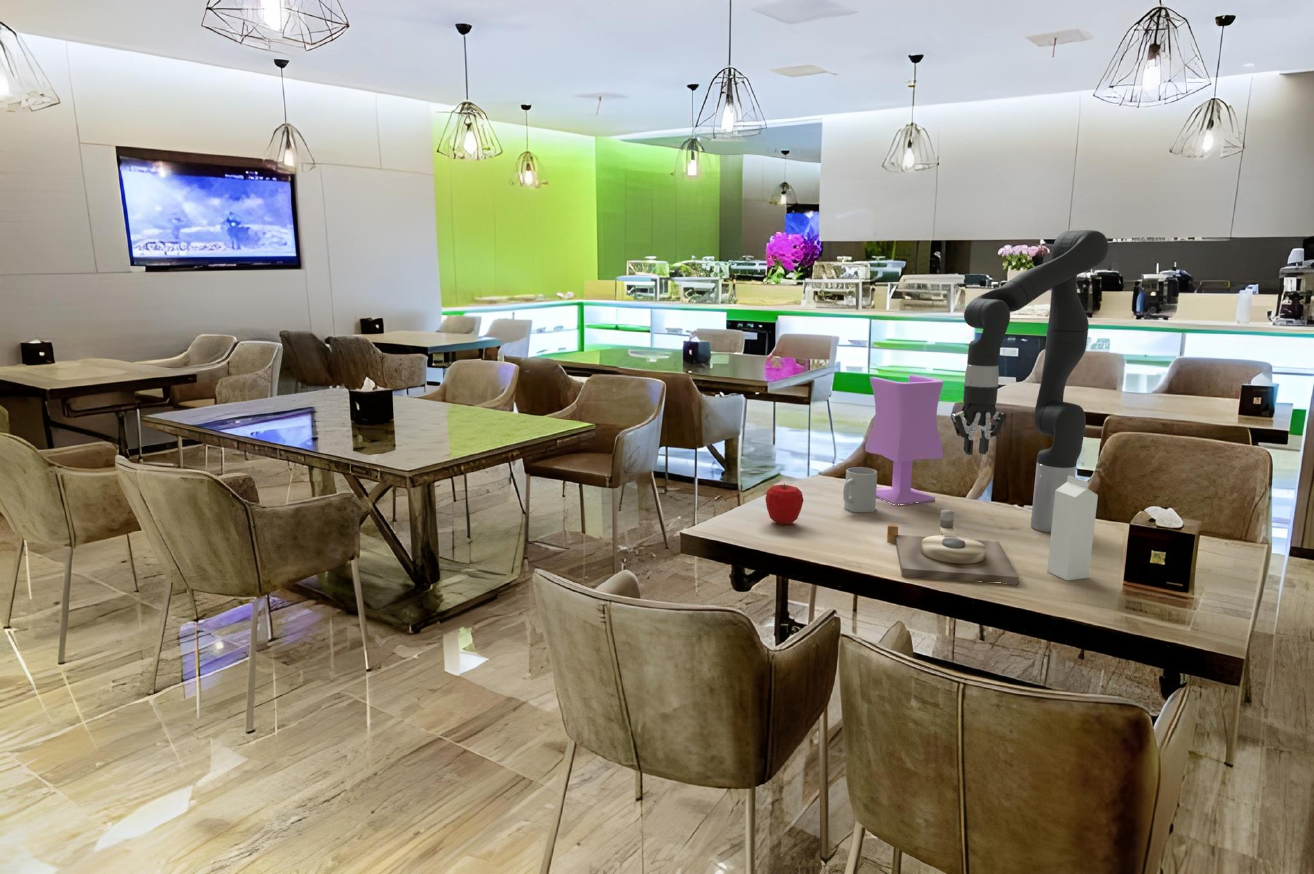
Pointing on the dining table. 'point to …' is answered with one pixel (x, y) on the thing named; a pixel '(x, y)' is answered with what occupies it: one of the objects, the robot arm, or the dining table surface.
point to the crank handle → (952, 544)
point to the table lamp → (905, 431)
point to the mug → (860, 489)
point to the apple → (784, 503)
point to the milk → (1072, 530)
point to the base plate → (922, 566)
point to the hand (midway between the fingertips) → (975, 453)
